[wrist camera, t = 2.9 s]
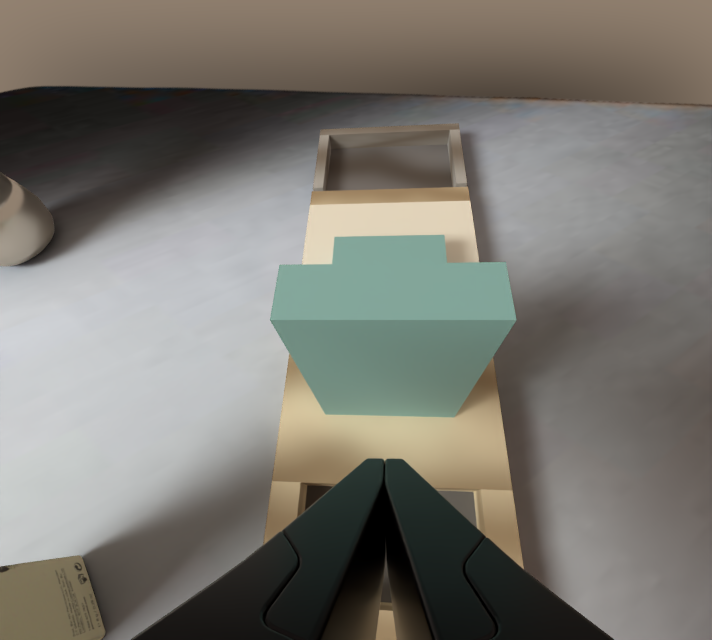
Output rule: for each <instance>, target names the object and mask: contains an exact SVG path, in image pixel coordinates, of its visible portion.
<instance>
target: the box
mask: <svg viewBox="0 0 712 640" xmlns="http://www.w3.org/2000/svg"><path fill="white" fill-rule="evenodd" d="M104 636H105V629H104V626H103V622H102V619H101V615H100V612H99V609H98V605H97V602H96V599H95V595H94V592H93V589H92V586H91V583H90V579H89V577H88V574H87V571H86V568H85V565H84V562H83V559H82V557H81V556H71V557H64V558H56V559H49V560H43V561H35V562H28V563H21V564H15V565H8V566H1V567H0V640H101V639H102V638H103V637H104Z"/></svg>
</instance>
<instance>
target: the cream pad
mask: <svg viewBox="0 0 712 640" xmlns="http://www.w3.org/2000/svg"><path fill="white" fill-rule="evenodd" d="M402 235H444V236H445V246H446V257H447V263H466V262H479V258H478V251H477V244H476V237H475V230H474V223H473V216H472V209H471V202H470V201H439V202H401V203H363V204H326V205H310V209H309V216H308V224H307V231H306V238H305V245H304V253H303V260H302V265H306V264H332V259H333V248H334V237H349V236H402Z"/></svg>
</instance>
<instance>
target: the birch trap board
mask: <svg viewBox="0 0 712 640" xmlns="http://www.w3.org/2000/svg"><path fill="white" fill-rule="evenodd" d="M466 186H467V179H466V172H465V165H464V158H463V151H462V144H461V137H460V130H459V124H436V125H413V126H391V127H368V128H345V129H323V130H321V132H320V140H319V147H318V154H317V162H316V169H315V176H314V184H313V190H314V191H312V196H311V203H310V205H326V204H363V203H401V202H439V201H470V197H469V190H468V187H466ZM368 458H382V459H384V461H385V460H386V459H388V458H393V459H403V460H405V461H406V462H407V463H408V464H409V465H410V466H411V467H412V468H413V469H414V470H415V471H416V472H417V473H419V474H420V475H421V476H422V477H423V478H424V479H425V480H426V481H427V482H428V483H429V484H430V485H431V486H432V487H434V488H435V489H436V490H437V491H438V492H439V493H440V494H441V495H442V496H443V497H444V498H445V499H446V500H448V501H449V502H450V503H451V504H452V505H453V506H454V507H455V508H456V509H457V510H458V511H459V512H460V513H461V514H463V515H464V516H465V517H466V518H467V519H468V520H469V521H470V522H471V523H472V524H473V525H474V526H475V527H476V528H478V529H479V530H480V531H481V532H482V533H483V534H484V535H485V536H486V538H489V539H490V540H491V541H493V542H494V543H495V544H496V545H497V546H498V547H499V548H500V549H501V550H502V551H503V552H505V553H506V554H507V555H508V556H509V557H510V558H511V559H513V560H514V561H515V562H516V563H517V564H518V565H519V566H521V567H522V568H523V569H524V566H523V559H522V553H521V546H520V539H519V532H518V525H517V518H516V511H515V504H514V497H513V491H512V484H511V477H510V470H509V463H508V456H507V449H506V442H505V435H504V429H503V422H502V415H501V408H500V401H499V394H498V387H497V380H496V373H495V366H494V360H493V358H492V359H491V361H490V362H489V364H488V365H487V367H486V369H485V370H484V372H483V373H482V375H481V376H480V378H479V379H478V381H477V383H476V384H475V386H474V387H473V389H472V390H471V392H470V393H469V395H468V397H467V398H466V400H465V401H464V403H463V404H462V406H461V408H460V409H459V411H458V412H457V414H456V415H455V417H414V416H370V415H326V414H325V413H324V411H323V410H322V408H321V406H320V404H319V403H318V401H317V399H316V398H315V396H314V394H313V392H312V391H311V389H310V387H309V386H308V384H307V382H306V381H305V379H304V377H303V375H302V374H301V372H300V370H299V369H298V367H297V365H296V363H295V362H294V360H293V358H292V357H291V355H290V353H289V360H288V368H287V375H286V382H285V390H284V397H283V404H282V411H281V419H280V426H279V433H278V441H277V448H276V455H275V462H274V470H273V477H272V484H271V492H270V499H269V506H268V513H267V521H266V528H265V535H264V543H263V545H264V544H265V543H266V542H267V541H269V540H270V539H271V538H272V537H273V536H275V535H276V534H277V533H278V532H282V530H283V529H284V528H285V527H286V526H288V525H289V524H290V523H291V522H292V521H293V520H295V519H296V518H297V517H298V516H299V515H301V514H302V513H303V512H304V511H305V510H306V509H308V508H309V507H310V506H311V505H312V504H314V503H315V502H316V501H317V500H318V499H319V498H321V497H322V496H323V495H324V494H325V493H327V492H328V491H329V490H330V489H331V488H332V487H334V486H335V485H336V484H337V483H338V482H340V481H341V480H342V479H343V478H344V477H345V476H347V475H348V474H349V473H350V472H351V471H353V470H354V469H355V468H356V467H357V466H358V465H360V464H361V463H362V462H363V461H364V460H366V459H368ZM376 640H397V638H396V631H395V623H394V616H393V608H392V601H391V594H390V586H389V579H388V571H387V561H385V571H384V579H383V587H382V594H381V602H380V610H379V617H378V625H377V633H376Z"/></svg>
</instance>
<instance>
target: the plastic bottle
mask: <svg viewBox="0 0 712 640" xmlns="http://www.w3.org/2000/svg"><path fill="white" fill-rule="evenodd" d="M53 235H54V221H53V217H52V214H51V213H50V212H49V210H48V209H47V208H46V207H45V205H44V204H43V203H42V202H41V200H40V199H39V198H38V197H37V196H36V195H34V194H33V193H31V192H30V191H29V190H27V189H26V188H24V187H23V186H22V185H20V184H18V183H17V182H15V181H13V180H12V179H10V178H8V177H6V176H5V175H4V174H2V173H1V172H0V266H14V265H18V264H21V263H23V262H26V261H28V260H29V259H31V258H33V257H34V256H36V255H37V254H39V253H40V252H41V251H42V250H43V249H44V248H45V247H46V246H47V245H48V244H49V242H50V241H51V239H52V237H53Z"/></svg>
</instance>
